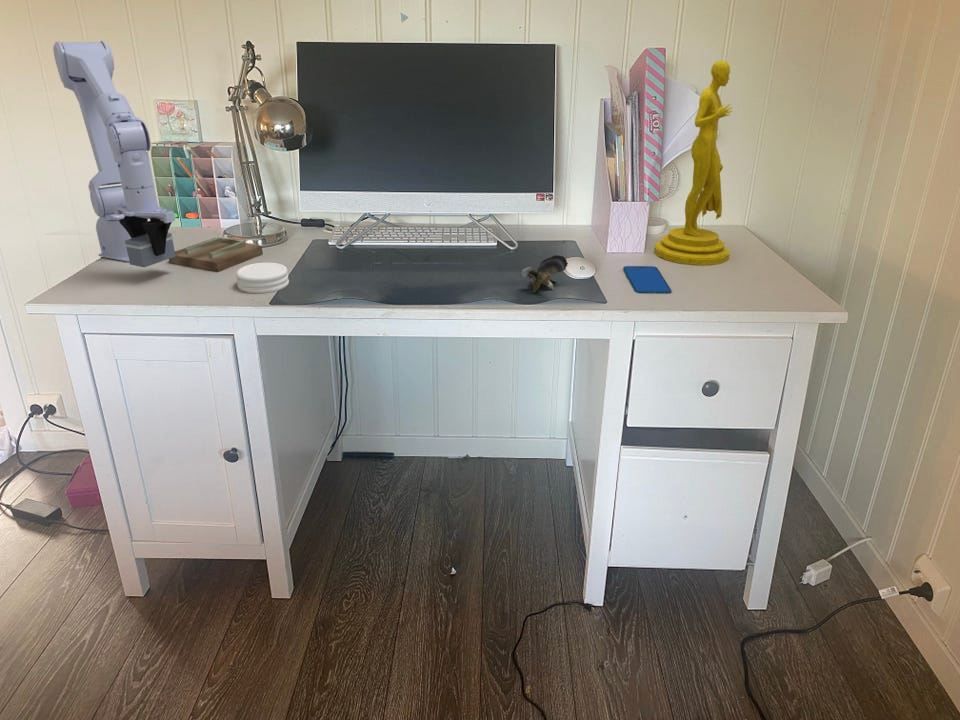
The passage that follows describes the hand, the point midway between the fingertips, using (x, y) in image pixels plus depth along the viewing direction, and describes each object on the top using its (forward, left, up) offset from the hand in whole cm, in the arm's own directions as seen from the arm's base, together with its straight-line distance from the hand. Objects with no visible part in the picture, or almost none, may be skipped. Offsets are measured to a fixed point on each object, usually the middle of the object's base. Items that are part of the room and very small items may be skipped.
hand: (151, 252), depth 144 cm
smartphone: (+92, +43, -6) cm, 102 cm away
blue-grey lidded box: (0, 0, -2) cm, 2 cm away
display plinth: (+2, +15, -5) cm, 16 cm away
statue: (+97, +66, -5) cm, 117 cm away
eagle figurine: (+75, +30, -6) cm, 80 cm away
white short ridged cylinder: (+23, +6, -6) cm, 24 cm away
